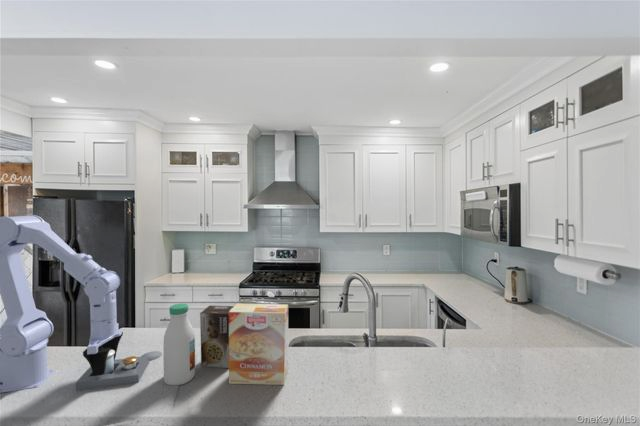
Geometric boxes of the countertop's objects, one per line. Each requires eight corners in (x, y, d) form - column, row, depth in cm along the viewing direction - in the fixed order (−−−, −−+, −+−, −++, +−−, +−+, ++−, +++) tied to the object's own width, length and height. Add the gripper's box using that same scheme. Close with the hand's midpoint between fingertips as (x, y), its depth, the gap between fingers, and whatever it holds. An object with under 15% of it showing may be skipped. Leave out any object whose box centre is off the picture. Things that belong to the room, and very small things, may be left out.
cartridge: (91, 382, 79) (90, 357, 79) (99, 373, 84) (98, 349, 83) (111, 380, 80) (110, 355, 80) (117, 370, 85) (117, 347, 85)
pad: (137, 363, 89) (137, 362, 89) (143, 353, 95) (143, 352, 95) (159, 360, 91) (159, 359, 91) (164, 351, 97) (164, 350, 97)
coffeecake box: (228, 384, 80) (227, 311, 79) (236, 369, 87) (236, 302, 86) (284, 386, 79) (284, 312, 78) (288, 370, 86) (288, 303, 86)
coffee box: (238, 357, 94) (238, 305, 93) (230, 368, 87) (229, 313, 86) (210, 355, 94) (209, 304, 94) (199, 366, 88) (199, 312, 87)
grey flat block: (76, 392, 76) (75, 382, 76) (94, 370, 86) (94, 362, 86) (138, 383, 80) (138, 374, 80) (149, 363, 89) (149, 355, 89)
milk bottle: (183, 388, 78) (182, 312, 77) (157, 384, 79) (156, 309, 79) (200, 372, 85) (200, 302, 85) (176, 368, 87) (175, 300, 86)
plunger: (120, 376, 82) (120, 363, 81) (125, 369, 85) (125, 357, 85) (134, 374, 82) (134, 361, 82) (138, 368, 86) (138, 355, 86)
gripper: (109, 327, 75) (111, 380, 76) (129, 307, 89) (130, 352, 90) (76, 330, 74) (78, 384, 74) (102, 309, 88) (103, 355, 88)
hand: (104, 367), depth 82 cm, fingers open, 6 cm apart
